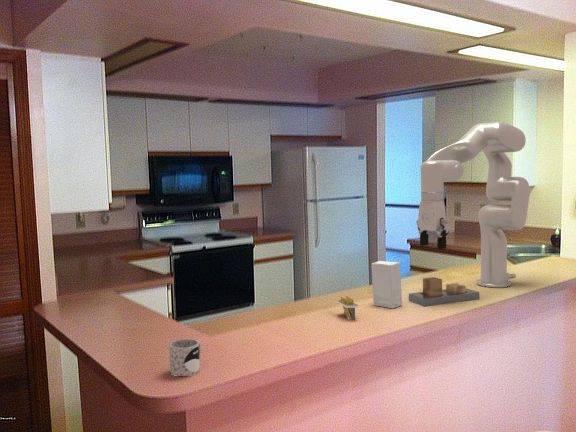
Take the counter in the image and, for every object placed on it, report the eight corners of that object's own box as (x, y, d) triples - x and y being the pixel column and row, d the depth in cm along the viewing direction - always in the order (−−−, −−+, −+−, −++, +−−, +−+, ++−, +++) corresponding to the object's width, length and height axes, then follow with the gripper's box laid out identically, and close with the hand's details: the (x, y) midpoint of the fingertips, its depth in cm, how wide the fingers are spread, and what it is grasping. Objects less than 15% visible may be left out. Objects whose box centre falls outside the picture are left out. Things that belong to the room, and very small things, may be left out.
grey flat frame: (462, 293, 193) (462, 287, 193) (479, 299, 185) (479, 292, 185) (408, 300, 185) (408, 293, 185) (424, 306, 176) (424, 298, 176)
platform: (340, 328, 155) (340, 306, 154) (318, 313, 172) (318, 293, 171) (377, 324, 158) (377, 302, 158) (352, 309, 176) (352, 290, 175)
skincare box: (402, 305, 178) (402, 262, 176) (391, 309, 173) (391, 264, 172) (381, 302, 184) (381, 259, 183) (371, 305, 180) (370, 261, 178)
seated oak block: (456, 296, 190) (456, 282, 189) (465, 299, 185) (465, 285, 185) (446, 298, 188) (446, 284, 187) (454, 300, 184) (454, 286, 183)
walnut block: (422, 300, 184) (422, 278, 184) (433, 299, 186) (433, 277, 185) (430, 303, 180) (430, 280, 179) (442, 302, 182) (442, 279, 181)
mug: (189, 378, 117) (188, 349, 117) (164, 375, 120) (163, 346, 119) (212, 363, 127) (211, 336, 126) (188, 360, 129) (187, 333, 129)
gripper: (408, 197, 187) (409, 244, 188) (439, 199, 171) (439, 251, 172) (426, 196, 190) (426, 243, 191) (458, 197, 173) (458, 249, 175)
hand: (432, 247), depth 182 cm, fingers open, 9 cm apart
